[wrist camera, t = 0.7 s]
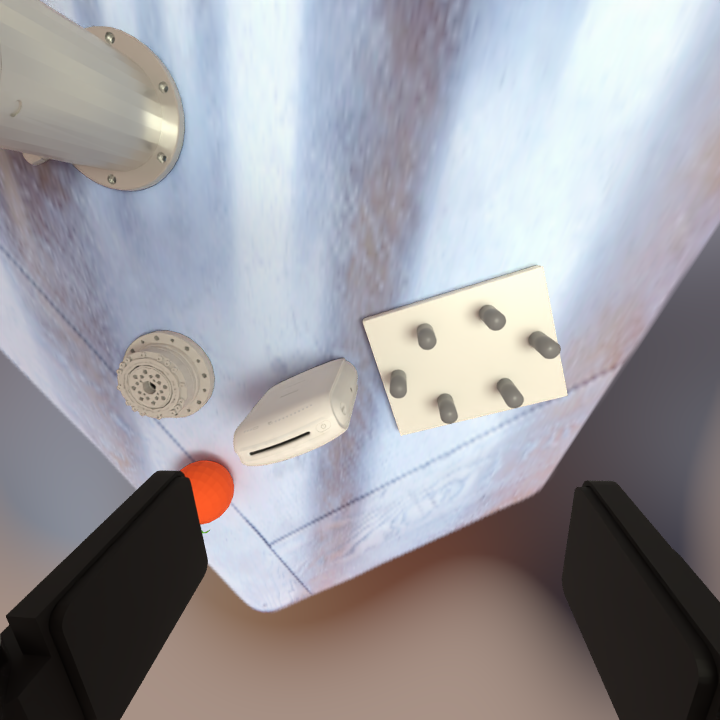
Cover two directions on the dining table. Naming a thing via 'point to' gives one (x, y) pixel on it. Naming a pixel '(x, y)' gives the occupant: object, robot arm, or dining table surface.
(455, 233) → the dining table surface
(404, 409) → the pin tray
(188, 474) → the clementine
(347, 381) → the photo printer
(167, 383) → the mechanical component
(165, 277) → the dining table surface
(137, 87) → the robot arm
